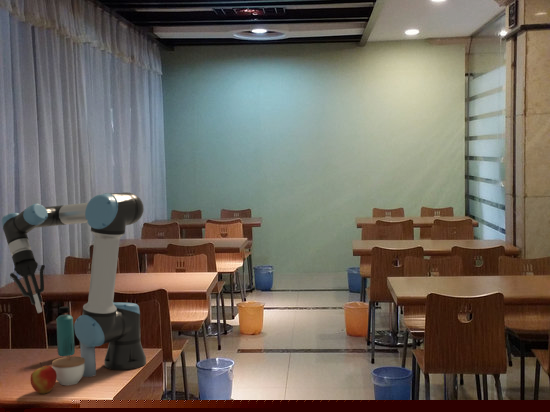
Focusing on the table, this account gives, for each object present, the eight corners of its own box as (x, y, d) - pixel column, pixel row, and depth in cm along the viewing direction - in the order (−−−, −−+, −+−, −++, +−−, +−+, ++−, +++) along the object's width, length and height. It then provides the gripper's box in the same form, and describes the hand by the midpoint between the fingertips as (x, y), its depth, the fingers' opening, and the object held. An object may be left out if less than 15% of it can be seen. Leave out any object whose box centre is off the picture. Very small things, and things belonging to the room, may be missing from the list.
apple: (49, 396, 233) (48, 366, 233) (26, 395, 235) (25, 365, 234) (61, 389, 241) (60, 359, 241) (39, 388, 243) (38, 358, 242)
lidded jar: (68, 389, 241) (67, 361, 240) (46, 384, 246) (45, 357, 246) (92, 380, 250) (91, 353, 250) (69, 376, 256) (68, 350, 255)
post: (99, 374, 259) (97, 341, 260) (90, 377, 254) (89, 342, 255) (87, 375, 261) (85, 341, 261) (78, 377, 256) (77, 343, 257)
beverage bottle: (72, 360, 278) (70, 308, 277) (55, 360, 278) (53, 308, 277) (77, 355, 285) (75, 305, 284) (60, 356, 285) (58, 305, 284)
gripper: (38, 251, 279) (56, 309, 273) (3, 260, 273) (21, 319, 267) (39, 245, 272) (58, 303, 266) (4, 254, 266) (22, 314, 260)
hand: (39, 311), depth 267 cm, fingers closed
